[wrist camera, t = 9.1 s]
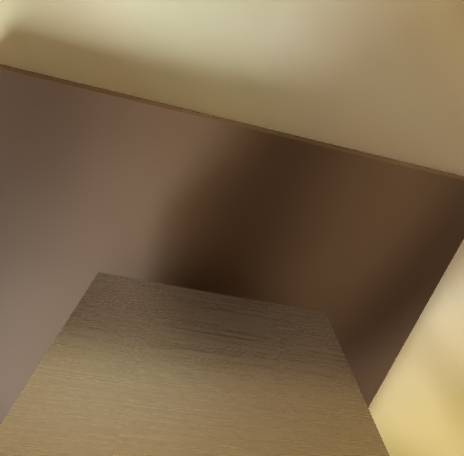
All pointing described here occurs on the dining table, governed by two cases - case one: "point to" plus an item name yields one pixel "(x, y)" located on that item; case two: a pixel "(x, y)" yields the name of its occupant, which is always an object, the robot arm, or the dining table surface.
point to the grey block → (189, 380)
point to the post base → (207, 220)
